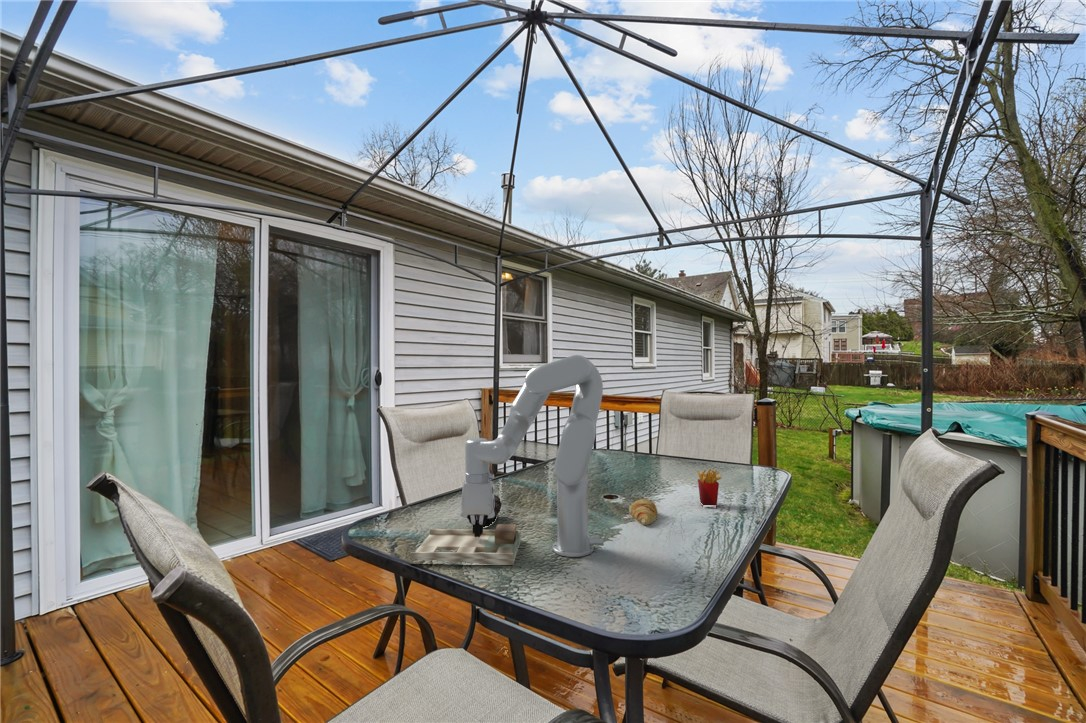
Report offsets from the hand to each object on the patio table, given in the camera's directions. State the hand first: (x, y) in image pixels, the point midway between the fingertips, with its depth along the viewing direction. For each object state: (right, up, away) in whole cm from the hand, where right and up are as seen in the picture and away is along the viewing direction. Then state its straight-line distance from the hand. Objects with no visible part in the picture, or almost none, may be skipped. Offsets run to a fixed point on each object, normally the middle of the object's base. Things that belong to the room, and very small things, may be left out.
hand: (478, 535), depth 152 cm
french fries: (+87, -2, +37) cm, 94 cm away
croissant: (+58, -3, +26) cm, 63 cm away
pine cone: (0, -4, +22) cm, 22 cm away
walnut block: (+9, -1, 0) cm, 9 cm away
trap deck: (-2, -4, -4) cm, 6 cm away
